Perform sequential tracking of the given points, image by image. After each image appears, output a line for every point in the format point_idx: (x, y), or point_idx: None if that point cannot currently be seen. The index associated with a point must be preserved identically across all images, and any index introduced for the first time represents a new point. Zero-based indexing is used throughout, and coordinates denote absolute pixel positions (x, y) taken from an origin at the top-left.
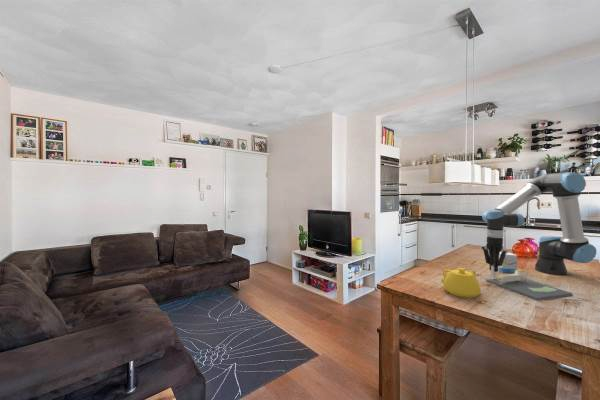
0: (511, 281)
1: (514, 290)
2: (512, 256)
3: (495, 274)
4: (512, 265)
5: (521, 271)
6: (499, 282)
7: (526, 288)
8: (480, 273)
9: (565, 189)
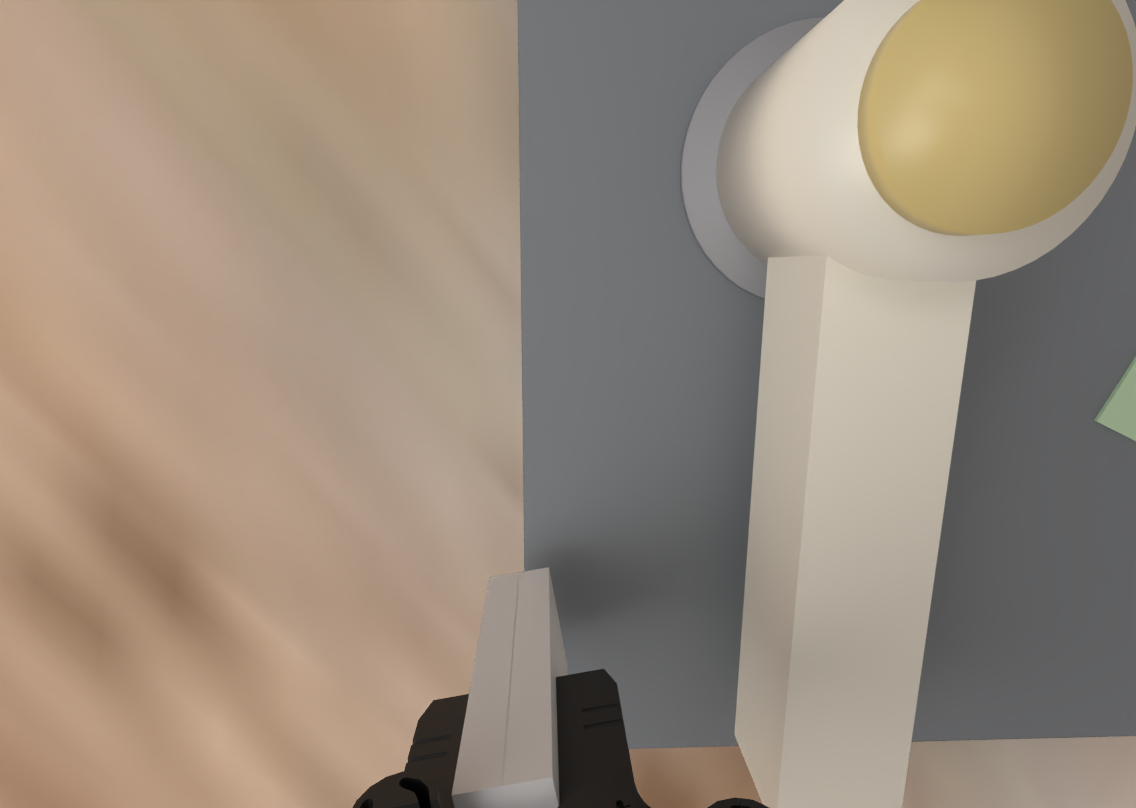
0: (755, 380)
1: (1045, 729)
2: None
3: (556, 631)
4: None
5: (1074, 197)
6: (723, 664)
7: (1109, 483)
8: (62, 415)
9: None
